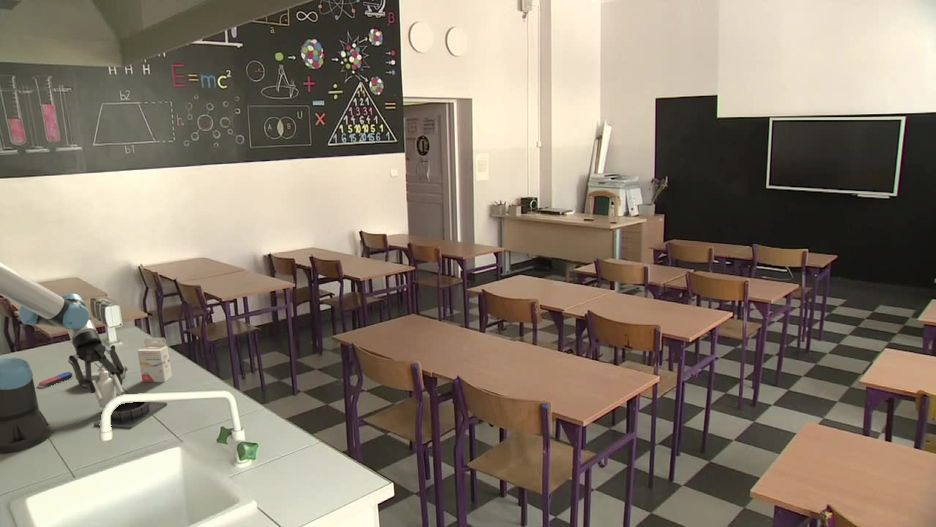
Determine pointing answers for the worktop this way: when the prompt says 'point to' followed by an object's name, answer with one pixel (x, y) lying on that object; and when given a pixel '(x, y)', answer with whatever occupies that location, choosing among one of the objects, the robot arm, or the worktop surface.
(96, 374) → the dish
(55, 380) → the eraser
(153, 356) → the ink cartridge box
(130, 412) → the black ribbed ring plate
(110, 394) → the eye dropper bottle
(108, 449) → the worktop surface
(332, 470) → the worktop surface
